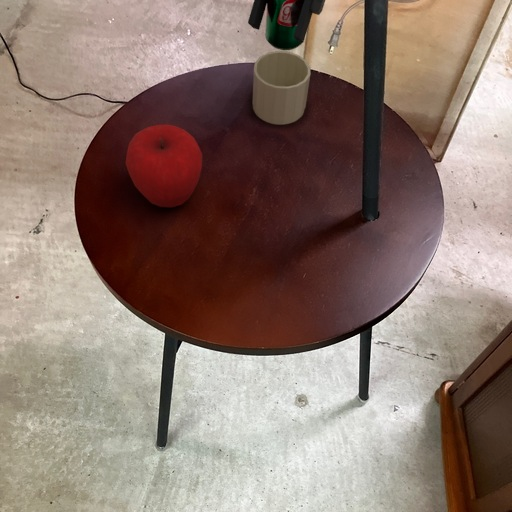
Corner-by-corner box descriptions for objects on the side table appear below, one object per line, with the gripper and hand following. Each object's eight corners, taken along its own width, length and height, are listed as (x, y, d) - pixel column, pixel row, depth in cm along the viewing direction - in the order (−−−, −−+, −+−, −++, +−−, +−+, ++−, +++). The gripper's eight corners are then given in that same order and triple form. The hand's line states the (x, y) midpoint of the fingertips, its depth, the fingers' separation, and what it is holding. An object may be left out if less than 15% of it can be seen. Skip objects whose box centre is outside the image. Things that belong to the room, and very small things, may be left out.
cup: (305, 90, 88) (310, 52, 82) (304, 126, 84) (310, 89, 78) (254, 86, 88) (255, 49, 82) (251, 122, 84) (252, 86, 78)
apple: (214, 211, 74) (212, 155, 65) (145, 231, 72) (132, 176, 63) (191, 159, 79) (186, 101, 70) (126, 176, 77) (112, 118, 68)
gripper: (420, -148, 62) (350, 59, 68) (272, -181, 65) (216, 20, 71) (423, -188, 55) (344, 47, 61) (256, -223, 58) (196, 4, 64)
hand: (275, 32), depth 66 cm, fingers closed on soda can, 5 cm apart
